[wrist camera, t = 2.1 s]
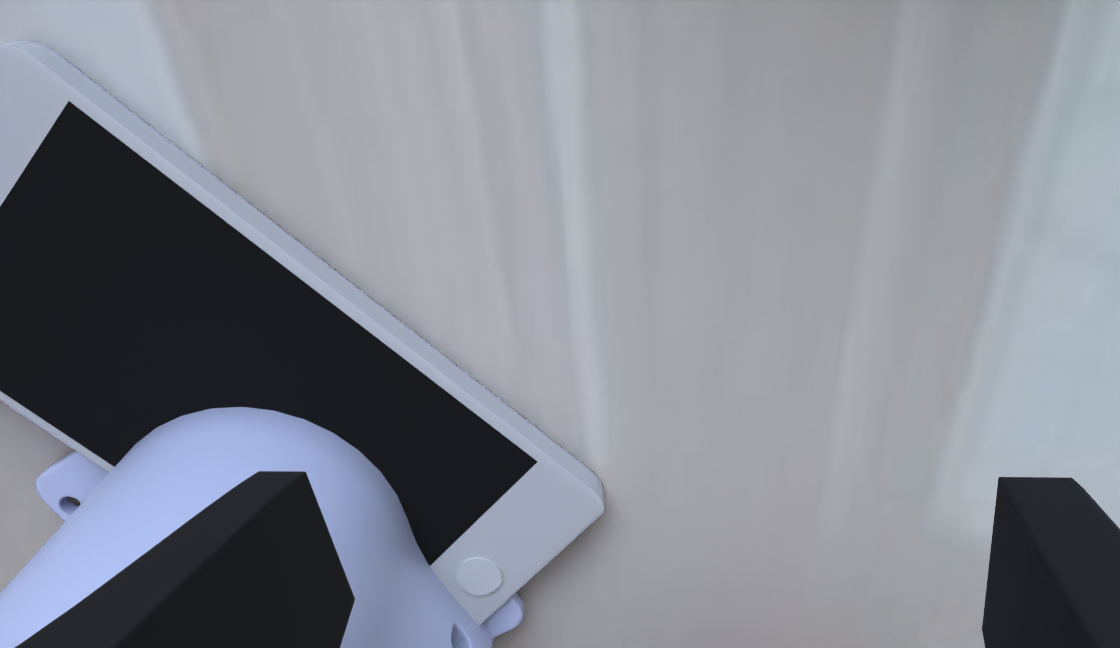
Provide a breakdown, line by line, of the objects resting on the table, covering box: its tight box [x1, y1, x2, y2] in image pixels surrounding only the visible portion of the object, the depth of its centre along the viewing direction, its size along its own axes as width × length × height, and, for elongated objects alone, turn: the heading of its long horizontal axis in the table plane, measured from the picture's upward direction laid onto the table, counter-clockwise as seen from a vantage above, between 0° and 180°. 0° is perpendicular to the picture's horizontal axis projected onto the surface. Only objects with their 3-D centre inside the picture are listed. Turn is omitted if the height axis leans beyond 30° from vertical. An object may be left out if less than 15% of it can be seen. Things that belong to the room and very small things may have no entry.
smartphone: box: [0, 40, 604, 626], centre depth 20 cm, size 7×16×1 cm, turn 48°
